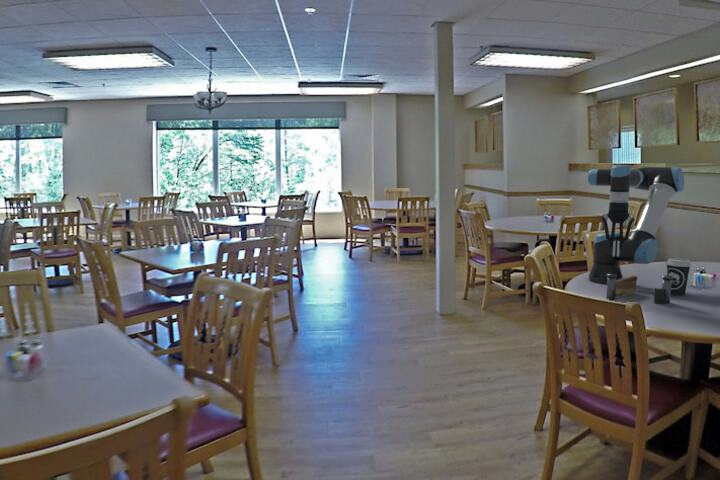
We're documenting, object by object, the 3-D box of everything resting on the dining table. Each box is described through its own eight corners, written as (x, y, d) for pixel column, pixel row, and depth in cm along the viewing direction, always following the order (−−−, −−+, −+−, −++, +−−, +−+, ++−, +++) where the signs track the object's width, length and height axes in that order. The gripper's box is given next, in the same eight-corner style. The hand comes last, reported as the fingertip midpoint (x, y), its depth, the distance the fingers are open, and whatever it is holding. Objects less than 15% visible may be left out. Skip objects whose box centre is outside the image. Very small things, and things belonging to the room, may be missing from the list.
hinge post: (604, 298, 234) (605, 273, 233) (614, 298, 233) (616, 273, 232) (606, 300, 230) (607, 275, 229) (616, 301, 229) (618, 275, 228)
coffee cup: (692, 297, 234) (695, 262, 232) (667, 296, 236) (670, 261, 234) (684, 291, 244) (686, 258, 241) (660, 290, 245) (662, 257, 243)
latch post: (651, 300, 230) (653, 274, 228) (669, 301, 228) (671, 275, 226) (654, 303, 225) (656, 277, 224) (672, 304, 224) (674, 278, 222)
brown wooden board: (610, 297, 233) (611, 281, 232) (632, 291, 243) (633, 275, 242) (614, 298, 232) (615, 281, 231) (636, 292, 242) (637, 276, 241)
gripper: (600, 201, 237) (597, 256, 241) (636, 202, 230) (633, 258, 234) (602, 200, 244) (599, 253, 247) (637, 201, 237) (634, 255, 240)
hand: (615, 255), depth 241 cm, fingers closed
